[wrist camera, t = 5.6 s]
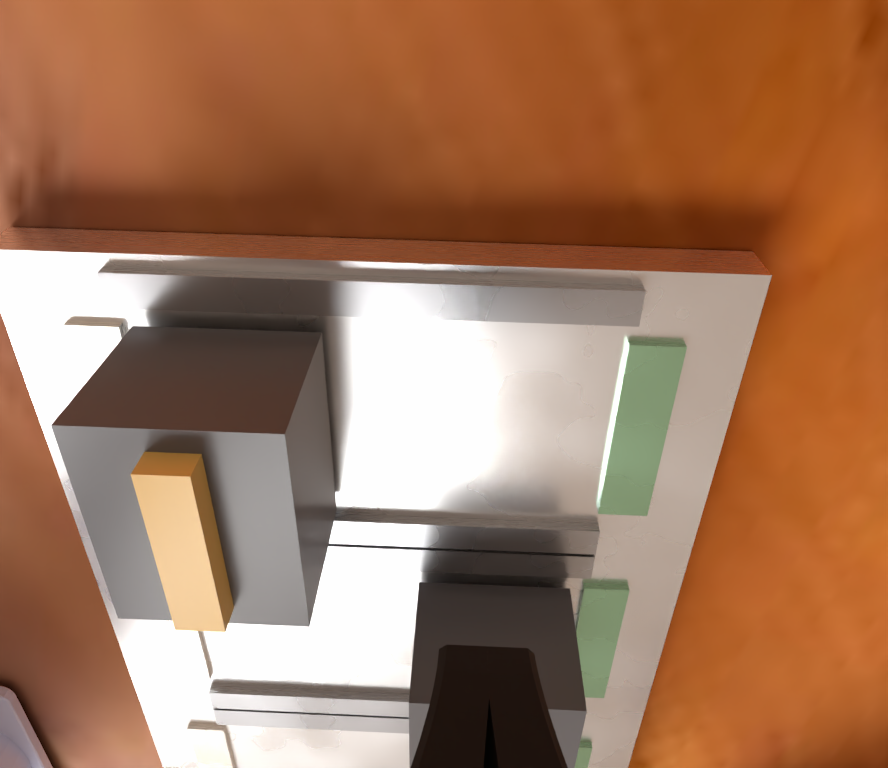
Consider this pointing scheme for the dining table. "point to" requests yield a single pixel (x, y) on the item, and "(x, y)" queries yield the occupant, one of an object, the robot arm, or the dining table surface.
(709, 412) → the breaker panel
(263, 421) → the block
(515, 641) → the breaker
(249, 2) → the dining table surface
